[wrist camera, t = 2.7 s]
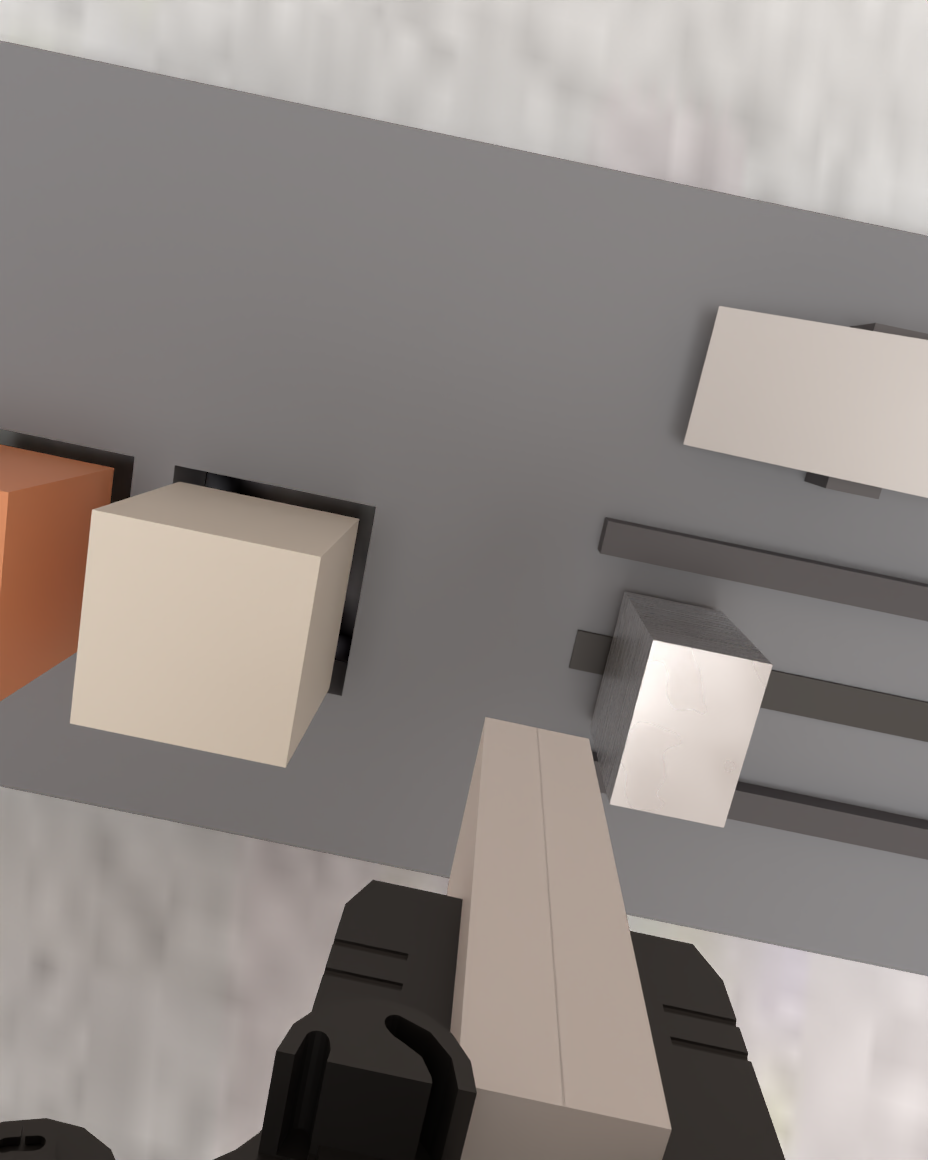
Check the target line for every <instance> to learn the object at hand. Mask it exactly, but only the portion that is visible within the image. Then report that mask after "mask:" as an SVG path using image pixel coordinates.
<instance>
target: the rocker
mask: <svg viewBox="0 0 928 1160" xmlns="http://www.w3.org/2000/svg"><path fill="white" fill-rule="evenodd" d="M684 445H688V446H693V447H697V448H702V449H706V450H711V451H716V452H720V453H725V454H729V455H734V456H738V457H743V458H748V459H752V460H757V461H761V462H766V463H770V464H775V465H780V466H784V467H789V468H793V469H798V470H802V471H807V472H811V473H816V474H821V475H825V476H830V477H834V478H839V479H843V480H848V481H853V482H857V483H862V484H866V485H871V486H875V487H880V488H885V489H889V490H894V491H898V492H903V493H907V494H912V495H917V496H921V497H926V498H928V340H924V339H918V338H912V337H906V336H900V335H894V334H888V333H882V332H875V331H869V330H863V329H857V328H851V327H845V326H839V325H833V324H827V323H821V322H815V321H808V320H802V319H796V318H790V317H784V316H778V315H772V314H766V313H760V312H754V311H747V310H741V309H735V308H729V307H723V306H719V309H718V313H717V316H716V320H715V324H714V328H713V332H712V336H711V340H710V343H709V347H708V351H707V355H706V359H705V363H704V367H703V370H702V374H701V378H700V382H699V386H698V390H697V393H696V397H695V401H694V405H693V409H692V413H691V417H690V420H689V424H688V428H687V432H686V436H685V440H684Z"/></svg>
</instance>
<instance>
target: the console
mask: <svg viewBox="0 0 928 1160" xmlns="http://www.w3.org/2000/svg"><path fill="white" fill-rule="evenodd" d="M719 306H723V307H729V308H735V309H741V310H747V311H754V312H760V313H766V314H772V315H778V316H784V317H790V318H796V319H802V320H808V321H815V322H821V323H827V324H833V325H839V326H845V327H851V328H857V329H863V330H869V331H875V332H882V333H888V334H894V335H900V336H906V337H912V338H918V339H924V340H928V236H925V235H921V234H916V233H911V232H906V231H902V230H897V229H892V228H887V227H883V226H878V225H873V224H868V223H864V222H859V221H854V220H849V219H845V218H840V217H835V216H830V215H826V214H821V213H816V212H811V211H807V210H802V209H797V208H792V207H788V206H783V205H778V204H773V203H769V202H764V201H759V200H754V199H750V198H745V197H740V196H735V195H731V194H726V193H721V192H716V191H712V190H707V189H702V188H697V187H693V186H688V185H683V184H678V183H674V182H669V181H664V180H659V179H655V178H650V177H645V176H640V175H636V174H631V173H626V172H621V171H617V170H612V169H607V168H602V167H598V166H593V165H588V164H583V163H579V162H574V161H569V160H565V159H560V158H555V157H550V156H546V155H541V154H536V153H531V152H527V151H522V150H517V149H512V148H508V147H503V146H498V145H493V144H489V143H484V142H479V141H474V140H470V139H465V138H460V137H455V136H451V135H446V134H441V133H436V132H432V131H427V130H422V129H417V128H413V127H408V126H403V125H398V124H394V123H389V122H384V121H379V120H375V119H370V118H365V117H360V116H356V115H351V114H346V113H341V112H337V111H332V110H327V109H322V108H318V107H313V106H308V105H303V104H299V103H294V102H289V101H284V100H280V99H275V98H270V97H265V96H261V95H256V94H251V93H246V92H242V91H237V90H232V89H227V88H223V87H218V86H213V85H208V84H204V83H199V82H194V81H189V80H185V79H180V78H175V77H170V76H166V75H161V74H156V73H151V72H147V71H142V70H137V69H132V68H128V67H123V66H118V65H113V64H109V63H104V62H99V61H94V60H90V59H85V58H80V57H75V56H71V55H66V54H61V53H56V52H52V51H47V50H42V49H37V48H33V47H28V46H23V45H18V44H14V43H9V42H4V41H0V429H3V430H8V431H13V432H18V433H22V434H27V435H32V436H37V437H42V438H46V439H51V440H56V441H61V442H66V443H71V444H75V445H80V446H85V447H90V448H95V449H99V450H104V451H109V452H114V453H119V454H124V455H128V456H133V457H135V458H134V466H133V475H132V484H131V493H130V497H133V496H136V495H139V494H142V493H146V492H149V491H152V490H155V489H158V488H161V487H164V486H167V485H171V484H174V483H177V482H184V483H189V484H194V485H198V486H203V487H204V485H205V478H206V472H210V473H215V474H220V475H225V476H230V477H234V478H239V479H244V480H249V481H254V482H258V483H263V484H268V485H273V486H278V487H283V488H287V489H292V490H297V491H302V492H307V493H311V494H316V495H321V496H326V497H331V498H336V499H340V500H345V501H350V502H355V503H360V504H364V505H369V506H374V507H376V510H375V516H374V521H373V527H372V532H371V538H370V543H369V549H368V554H367V560H366V565H365V571H364V576H363V582H362V587H361V593H360V598H359V604H358V610H357V615H356V621H355V626H354V632H353V637H352V643H351V648H350V654H349V659H348V663H346V662H341V661H336V660H334V665H333V671H332V676H331V682H330V687H329V690H328V692H327V693H326V695H325V697H324V699H323V701H322V703H321V704H320V706H319V708H318V710H317V712H316V713H315V715H314V717H313V719H312V721H311V722H310V724H309V726H308V728H307V730H306V732H305V733H304V735H303V737H302V739H301V741H300V742H299V744H298V746H297V748H296V750H295V752H294V753H293V755H292V757H291V759H290V761H289V762H288V764H287V766H286V768H284V767H280V766H275V765H270V764H265V763H260V762H255V761H250V760H245V759H241V758H236V757H231V756H226V755H221V754H216V753H211V752H207V751H202V750H197V749H192V748H187V747H182V746H177V745H172V744H168V743H163V742H158V741H153V740H148V739H143V738H138V737H133V736H129V735H124V734H119V733H114V732H109V731H104V730H99V729H94V728H90V727H85V726H80V725H75V724H70V716H71V707H72V697H73V688H74V678H75V669H76V659H77V652H76V653H74V654H73V655H71V656H70V657H68V658H67V659H65V660H64V661H62V662H61V663H59V664H57V665H56V666H54V667H53V668H51V669H50V670H48V671H47V672H45V673H43V674H42V675H40V676H39V677H37V678H36V679H34V680H33V681H31V682H30V683H28V684H26V685H25V686H23V687H22V688H20V689H19V690H17V691H16V692H14V693H12V694H11V695H9V696H8V697H6V698H5V699H3V700H2V701H0V786H2V787H7V788H12V789H16V790H21V791H26V792H31V793H36V794H41V795H46V796H51V797H56V798H60V799H65V800H70V801H75V802H80V803H85V804H90V805H95V806H100V807H104V808H109V809H114V810H119V811H124V812H129V813H134V814H139V815H143V816H148V817H153V818H158V819H163V820H168V821H173V822H178V823H183V824H187V825H192V826H197V827H202V828H207V829H212V830H217V831H222V832H227V833H231V834H236V835H241V836H246V837H251V838H256V839H261V840H266V841H270V842H275V843H280V844H285V845H290V846H295V847H300V848H305V849H310V850H314V851H319V852H324V853H329V854H334V855H339V856H344V857H349V858H354V859H358V860H363V861H368V862H373V863H378V864H383V865H388V866H393V867H397V868H402V869H407V870H412V871H417V872H422V873H427V874H432V875H437V876H441V877H446V878H450V874H451V869H452V865H453V860H454V856H455V851H456V847H457V842H458V838H459V833H460V829H461V824H462V820H463V815H464V811H465V806H466V802H467V797H468V793H469V789H470V784H471V780H472V775H473V771H474V766H475V762H476V757H477V753H478V748H479V744H480V739H481V735H482V730H483V726H484V721H485V717H488V718H493V719H497V720H502V721H507V722H512V723H516V724H521V725H526V726H531V727H535V728H540V729H545V730H549V731H554V732H559V733H564V734H568V735H573V736H578V737H583V738H587V739H589V741H590V746H591V751H592V756H593V760H594V765H595V770H596V774H597V779H598V784H599V789H600V793H601V798H602V803H603V808H604V812H605V817H606V822H607V826H608V831H609V836H610V841H611V845H612V850H613V855H614V860H615V864H616V869H617V874H618V878H619V883H620V888H621V893H622V897H623V902H624V907H625V911H626V914H627V915H632V916H637V917H642V918H647V919H651V920H656V921H661V922H666V923H671V924H676V925H681V926H686V927H691V928H695V929H700V930H705V931H710V932H715V933H720V934H725V935H730V936H735V937H739V938H744V939H749V940H754V941H759V942H764V943H769V944H774V945H778V946H783V947H788V948H793V949H798V950H803V951H808V952H813V953H818V954H822V955H827V956H832V957H837V958H842V959H847V960H852V961H857V962H862V963H866V964H871V965H876V966H881V967H886V968H891V969H896V970H901V971H905V972H910V973H915V974H920V975H925V976H928V498H926V497H921V496H917V495H912V494H907V493H903V492H898V491H894V490H889V489H885V488H880V487H875V486H871V485H866V484H862V483H857V482H853V481H848V480H843V479H839V478H834V477H830V476H825V475H821V474H816V473H811V472H807V471H802V470H798V469H793V468H789V467H784V466H780V465H775V464H770V463H766V462H761V461H757V460H752V459H748V458H743V457H738V456H734V455H729V454H725V453H720V452H716V451H711V450H706V449H702V448H697V447H693V446H688V445H684V440H685V436H686V432H687V428H688V424H689V420H690V417H691V413H692V409H693V405H694V401H695V397H696V393H697V390H698V386H699V382H700V378H701V374H702V370H703V367H704V363H705V359H706V355H707V351H708V347H709V343H710V340H711V336H712V332H713V328H714V324H715V320H716V316H717V313H718V309H719ZM624 592H630V593H635V594H640V595H644V596H649V597H654V598H659V599H664V600H669V601H673V602H678V603H683V604H688V605H693V606H697V607H702V608H707V609H712V610H717V611H722V612H723V613H724V614H725V615H726V616H727V617H728V618H729V619H730V620H731V621H732V623H733V624H734V625H735V626H736V627H737V628H738V629H739V630H740V631H741V632H742V633H743V634H744V635H745V636H746V637H747V638H748V639H749V640H750V641H751V642H752V643H753V644H754V646H755V647H756V648H757V649H758V650H759V651H760V652H761V653H762V654H763V655H764V656H765V657H766V658H767V659H768V660H769V661H770V662H771V663H772V664H773V666H772V669H771V672H770V676H769V679H768V682H767V686H766V689H765V692H764V696H763V699H762V702H761V706H760V709H759V712H758V716H757V719H756V722H755V726H754V729H753V732H752V736H751V739H750V742H749V746H748V749H747V752H746V756H745V759H744V762H743V766H742V769H741V772H740V775H739V779H738V782H737V785H736V789H735V792H734V795H733V799H732V802H731V805H730V809H729V812H728V815H727V819H726V822H725V825H724V828H723V827H718V826H713V825H708V824H703V823H698V822H693V821H689V820H684V819H679V818H674V817H669V816H664V815H659V814H655V813H650V812H645V811H640V810H635V809H630V808H625V807H621V806H616V805H611V804H609V800H608V796H607V792H606V789H605V785H604V781H603V777H602V773H601V769H600V765H599V761H598V758H597V754H596V750H595V746H594V742H593V738H592V734H591V731H590V726H591V722H592V718H593V714H594V710H595V706H596V702H597V698H598V694H599V690H600V686H601V682H602V678H603V674H604V670H605V667H606V663H607V659H608V655H609V651H610V647H611V643H612V639H613V635H614V631H615V627H616V623H617V619H618V615H619V611H620V607H621V604H622V600H623V596H624Z"/></svg>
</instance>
